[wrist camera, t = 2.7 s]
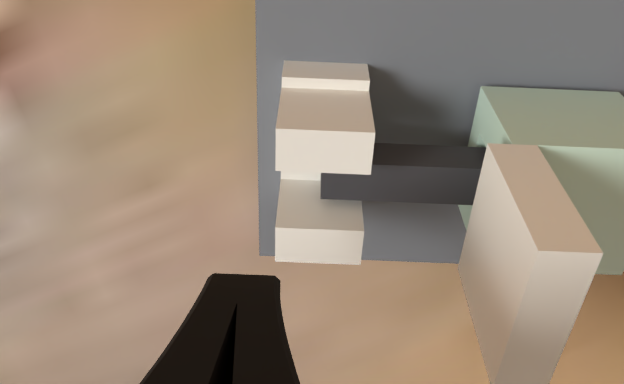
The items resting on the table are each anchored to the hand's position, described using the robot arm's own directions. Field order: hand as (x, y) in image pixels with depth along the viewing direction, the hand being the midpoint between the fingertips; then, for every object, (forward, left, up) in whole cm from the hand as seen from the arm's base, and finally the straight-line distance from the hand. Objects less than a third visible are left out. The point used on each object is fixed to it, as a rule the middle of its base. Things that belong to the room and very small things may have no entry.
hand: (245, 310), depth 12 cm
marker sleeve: (-8, 0, -7) cm, 11 cm away
